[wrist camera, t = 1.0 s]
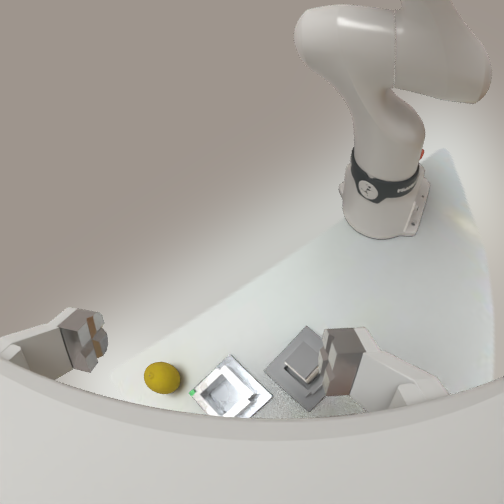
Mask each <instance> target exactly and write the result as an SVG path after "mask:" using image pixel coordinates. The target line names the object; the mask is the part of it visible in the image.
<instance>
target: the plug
mask: <svg viewBox="0 0 504 504" xmlns="http://www.w3.org/2000/svg"><path fill="white" fill-rule="evenodd" d="M318 357H319V354H318V353H317V352H316V351H315V350H314V349H312V348H311V347H310V346H309V345H308V344H307V343H305V342H304V341H303V342H302V343H301V344H300V345H299V346H298V347H297V348H296V349H295V351H294V352H293V353H292V354H291V355H290V356H289V357H288V358H287V359H286V360H285V364H286V365H287V366H288V367H289V368H290V369H292V370H293V371H294V372H295V373H296V374H297V375H298V376H299V377H301V378H302V379H303V380H304V381H305V382H306V383H308V384H309V383H310V382H311V381H312V380H313V379H314V378H315V377H316V376H317V375H318V374H319V368H318Z"/></svg>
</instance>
